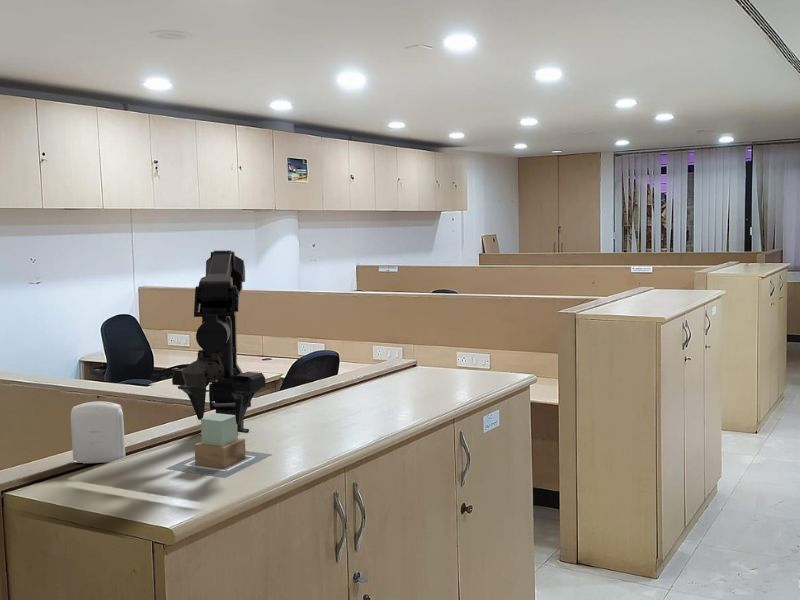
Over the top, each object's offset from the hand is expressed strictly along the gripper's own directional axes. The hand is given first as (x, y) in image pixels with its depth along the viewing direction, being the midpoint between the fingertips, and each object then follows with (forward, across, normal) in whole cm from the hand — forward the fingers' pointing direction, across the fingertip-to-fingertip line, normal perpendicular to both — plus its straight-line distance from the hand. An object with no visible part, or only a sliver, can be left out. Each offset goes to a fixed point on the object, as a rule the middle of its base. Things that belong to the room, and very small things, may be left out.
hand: (219, 421), depth 154 cm
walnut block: (+8, 0, 0) cm, 8 cm away
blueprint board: (+9, 0, 0) cm, 9 cm away
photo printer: (+9, -25, -7) cm, 28 cm away
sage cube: (+4, 0, 0) cm, 4 cm away
